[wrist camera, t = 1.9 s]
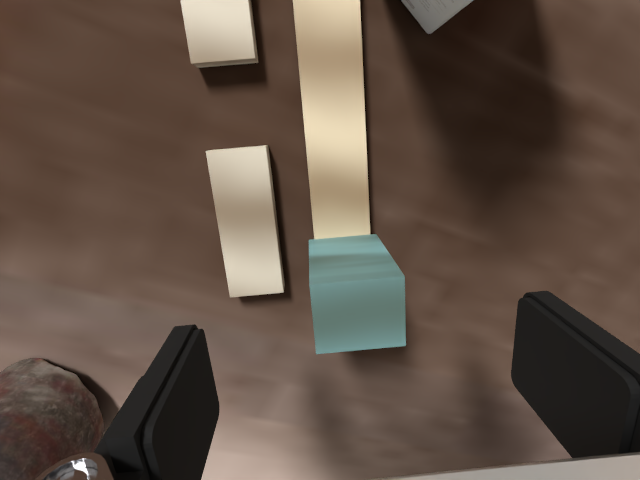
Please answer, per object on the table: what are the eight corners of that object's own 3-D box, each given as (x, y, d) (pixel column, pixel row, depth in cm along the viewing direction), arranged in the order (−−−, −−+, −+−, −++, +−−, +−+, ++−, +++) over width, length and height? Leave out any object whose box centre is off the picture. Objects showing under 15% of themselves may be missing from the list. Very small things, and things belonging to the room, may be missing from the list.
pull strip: (504, 265, 22) (596, 328, 15) (313, 282, 22) (316, 353, 15) (536, -225, 15) (722, -517, 8) (267, -204, 15) (234, -481, 8)
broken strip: (284, 284, 22) (283, 292, 21) (234, 288, 22) (230, 297, 21) (227, -197, 15) (221, -223, 14) (156, -191, 15) (144, -217, 14)
